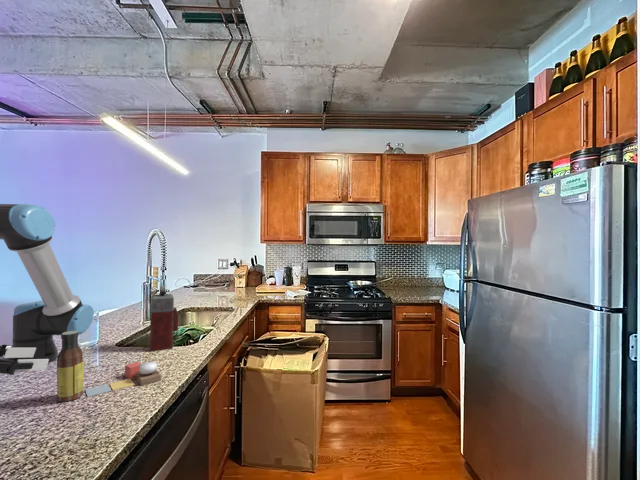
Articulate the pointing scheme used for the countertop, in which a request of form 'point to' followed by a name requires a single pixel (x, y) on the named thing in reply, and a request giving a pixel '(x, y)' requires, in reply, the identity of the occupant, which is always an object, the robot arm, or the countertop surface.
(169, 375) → the countertop surface
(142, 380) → the brown flat block
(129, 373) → the die
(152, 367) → the dome
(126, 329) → the countertop surface
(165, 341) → the dark red rectangular canister
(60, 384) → the sauce bottle
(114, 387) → the square
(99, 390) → the square
